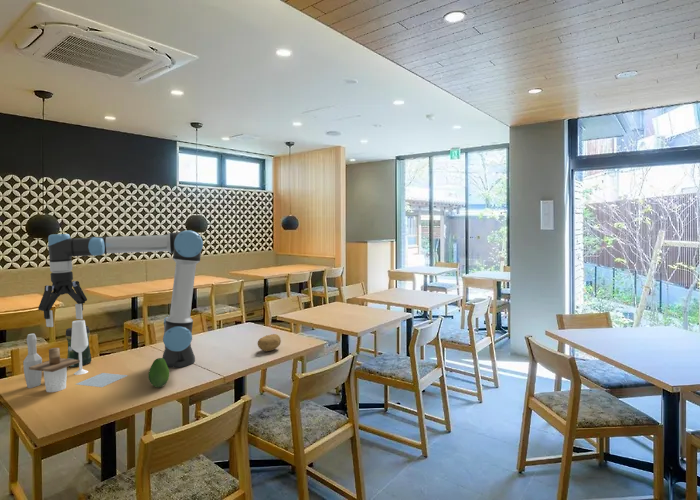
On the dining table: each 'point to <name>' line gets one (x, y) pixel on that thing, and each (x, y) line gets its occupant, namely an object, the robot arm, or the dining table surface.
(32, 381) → the faceted bottle
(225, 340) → the dining table surface
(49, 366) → the lid
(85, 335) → the champagne flute
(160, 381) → the avocado
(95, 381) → the mat
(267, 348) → the potato
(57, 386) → the white cup
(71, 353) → the wine bottles
